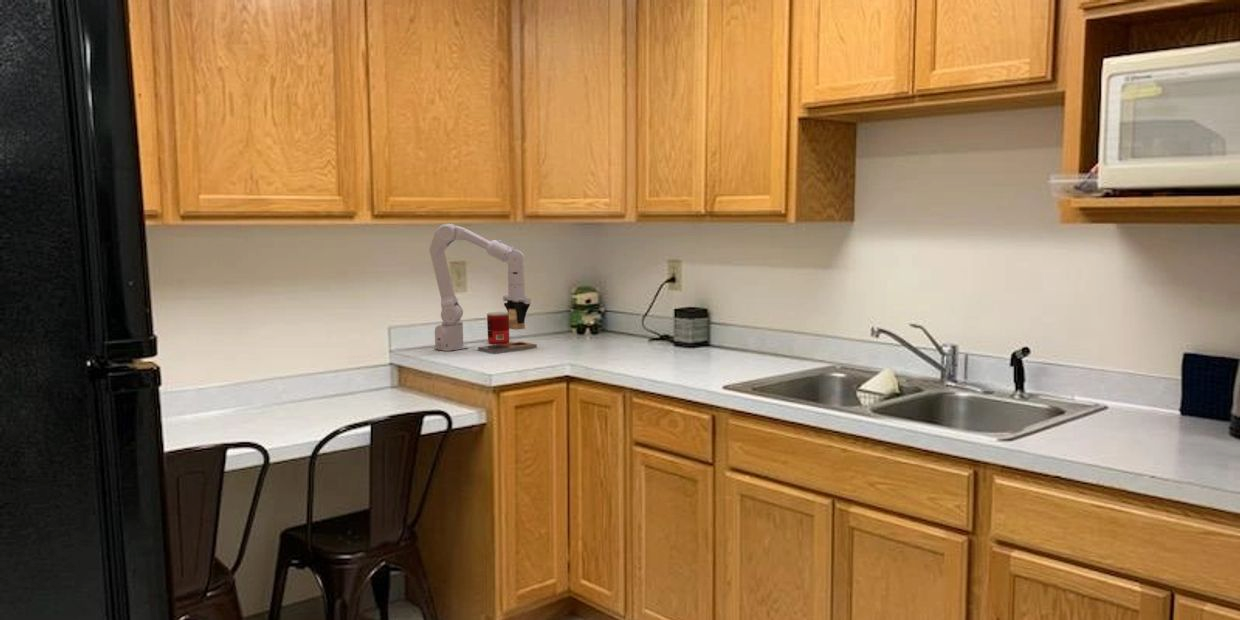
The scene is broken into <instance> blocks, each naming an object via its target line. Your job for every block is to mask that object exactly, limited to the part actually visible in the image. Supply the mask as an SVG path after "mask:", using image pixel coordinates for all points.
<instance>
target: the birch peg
mask: <svg viewBox="0 0 1240 620" xmlns="http://www.w3.org/2000/svg"><path fill="white" fill-rule="evenodd" d="M525 323H526V321H524V323H521V324H518V320H517V313H516V309H515V308H514V309H509V330H514V331H516V330H525V329H526V324H525Z"/></svg>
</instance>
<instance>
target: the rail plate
mask: <svg viewBox="0 0 1240 620" xmlns="http://www.w3.org/2000/svg"><path fill="white" fill-rule="evenodd" d="M537 348H538V345H537V343H531V342H525V341H521V340H519V341H514V342H508V343H505V344H491V345H483V346H478V347H477V351H479V352H483V353H488V354H494V355H497V354H503V352H504V353H510V351H511V352H517V351H523V350H525V351H526V350H531V349H537Z"/></svg>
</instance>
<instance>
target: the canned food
mask: <svg viewBox="0 0 1240 620" xmlns="http://www.w3.org/2000/svg"><path fill="white" fill-rule="evenodd" d="M486 318H487V319H486V322H487V342H488V344H491V345H497V344H505V343H510V329H509V314H508V311H507V312H506V311H492V312H491V311H490V312H488V313H486Z"/></svg>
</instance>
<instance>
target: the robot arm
mask: <svg viewBox="0 0 1240 620" xmlns="http://www.w3.org/2000/svg"><path fill="white" fill-rule="evenodd" d="M455 241H466V242H469V243H471V244H473V245H476V246H478V247H480V248H482V249H485V250H486V252H487V253H486V254H487V255H489V256H491V257H493V258H495V259H497V260H499V261H500V262H503V263H505V262H506V263H507V265H508V266H507V283H508V284H507V289H508V290H507V291H508V295H502V301H503V302H504V303H503V306H504V307H505V309H506V311H507V312H508V314H509V309H514V308H515V309H516V313H517V320H518V324H521V323H524V321H525V319H526V315H527V313H528V309H529V308H530V306H531V304H532V298H531V297H528V296H527V295H525V291H526V289H525V286H526V285H525V269H524V268H525V267H524V262H525V255H524V253H523V252H522V251H521V250H519V249H515V246H509V245H507V244H505V243H503V241H502V240H501V239H497V240H496V239H493V240H489V239H487V238H484V237H482V236H480V235H478V234H477V233H475V232H473V231H472V230H470V229H467V228H465V227H462V226H460V225H456V224H454V223H451V224H450V223H443V224H440V226H439V227H438V228H437V229H436V230H435V231H434V233H433V238H432V240H431V243H430V246H429V254H430V258H431V262H432V266H433V271H434V274H435V278H436V283H437V287H438V290H439V295H440V299H441V300H440V306H441V312H440V318H441V321H442V322H441V324H440V325H437V326H436V327H435V329H434V344H435V347H434V349H435V350H438V351H443V352H449V351H455V350H456V351H457V350H464V349H468V348H469V346H466V345H464V325H463V324H464V323H463V321H462V319H461V318H463V315H464V310H463V308H462V306H461V305H460V304H459V301H458V298H457V296H456V294H455V290H454V286H453V281H452V278H451V273H450V269H449V264H448V262H447V261H448V260H447V257H446V253H445V252H446V251H447V249H448V248H449V246H450V245H451V244H452V243H453V242H455ZM525 322H526V321H525Z"/></svg>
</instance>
